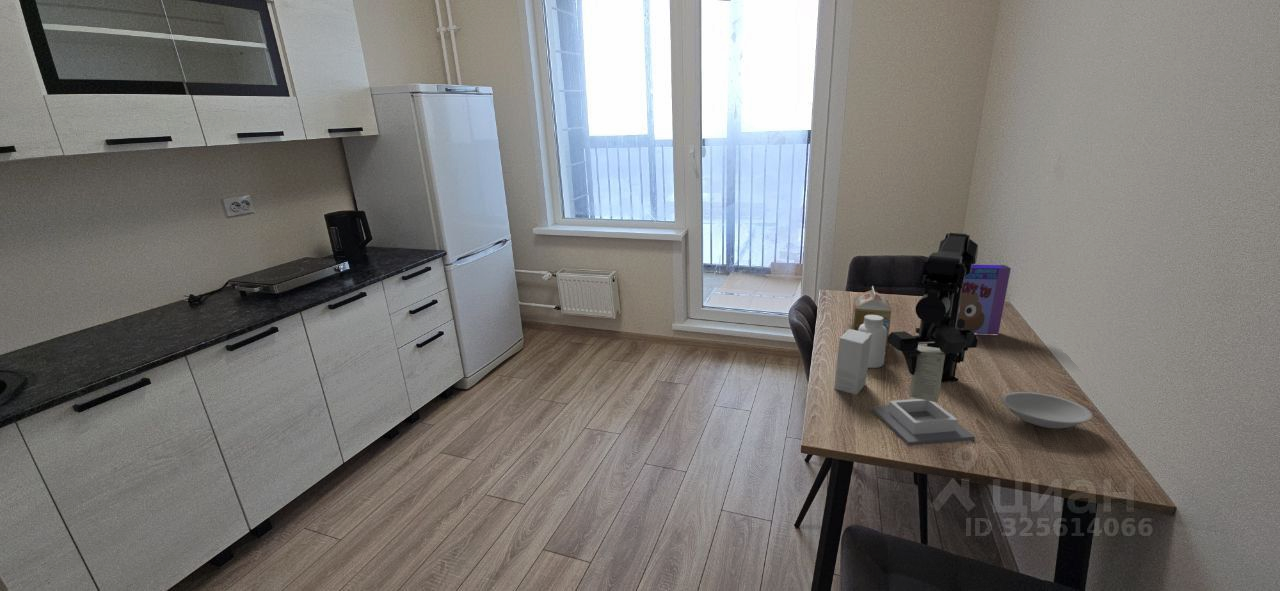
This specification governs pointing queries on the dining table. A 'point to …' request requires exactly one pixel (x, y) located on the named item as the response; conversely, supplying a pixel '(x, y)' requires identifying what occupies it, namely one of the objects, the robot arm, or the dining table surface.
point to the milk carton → (871, 309)
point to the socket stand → (921, 422)
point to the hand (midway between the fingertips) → (927, 373)
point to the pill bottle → (875, 339)
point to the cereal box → (983, 298)
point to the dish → (1046, 409)
